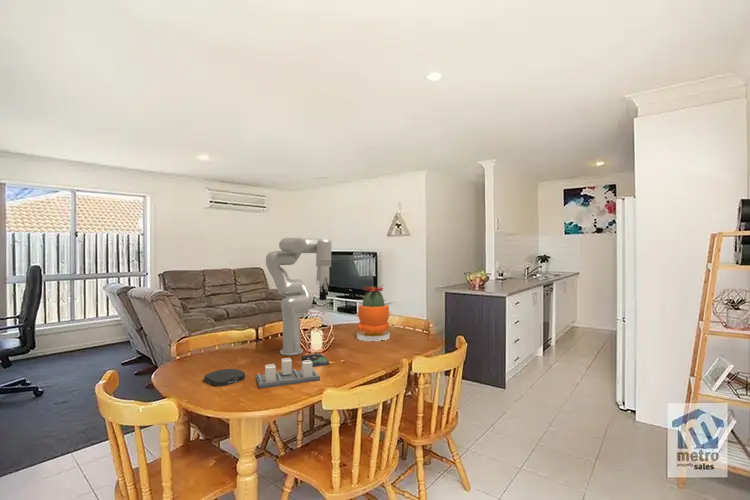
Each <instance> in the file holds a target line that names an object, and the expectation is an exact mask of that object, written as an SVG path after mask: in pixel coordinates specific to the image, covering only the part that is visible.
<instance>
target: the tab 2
mask: <svg viewBox="0 0 750 500" xmlns="http://www.w3.org/2000/svg"><path fill="white" fill-rule="evenodd" d="M292 367H293V360H292V359H291V357H285V358H281V367H280V368H281V370H280V371H281V372H280V373H282V375H288V374H292V371H293V368H292Z"/></svg>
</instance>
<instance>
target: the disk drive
mask: <svg viewBox="0 0 750 500" xmlns="http://www.w3.org/2000/svg"><path fill="white" fill-rule="evenodd" d="M304 360H311V362H312V363H313V368H316V367H324V366H325V367H326V366H329V365H330V361H329V359H328V358H326V357H325V356H324V355H323V354H322V353H313V354H309V355H307V354H305V355H301V362H302V361H304Z"/></svg>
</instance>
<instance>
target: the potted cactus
mask: <svg viewBox="0 0 750 500" xmlns="http://www.w3.org/2000/svg"><path fill="white" fill-rule="evenodd" d="M383 286H384V284H382V285H380V286H378V287H375V286H374V285H373V286H372V285H371V286H369V287H368V286H367V285H364V288H362V289H361V290H363V291H366V292H365V294H364V296H363V297H362V301H361V304H359V305H358V309H357V312H356V316H357V318H358V319H359V320H358V321H359V322H358V323H357V330H358V332H356V339H357V340H358V339H359V340H358V341H361V340H363V341H362V342H371V341H374V342H382V341H381V340H385V341H388V340H390V339H389V338H391V337H390V336H391V335H390V332H389V331H388V330H389V329H390V323H389V322H388V321H389V317H390V316H391V315H392V312H391V310H390V308H389V307H390V306H389V305H388V304H386V303H385V302H386V301H385V298H384V296H383V294H382V291H384V287H383ZM387 339H388V340H387Z"/></svg>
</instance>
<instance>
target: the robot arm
mask: <svg viewBox="0 0 750 500" xmlns="http://www.w3.org/2000/svg"><path fill="white" fill-rule="evenodd" d="M278 247H279V249H280V250H273V251H269V253H267V254H266V256H265V265H266V269H267V271H268V273H269V274H270V276H271V277H272V280H273V281H274V282H273V283H274V285H275V287H276V289H277V292H278V294H279V295H280V296H281V297H284V298H283V299H282V300H281V302H280V308H281V313H282V314H281V315H282V349H280V351H279V354H280V355H283V356H297V355H301V354H302V353H303V352H304V350H303V348H301V319H300V317H299V316H298V314H297V313H303V312H307V311H310V310H311V308H312V305H313V304H312V299H311V296H310V294H309V291H308V288H307V287H306V284H305V282H303V281H302V280H301V279H292V278H290V277H289V274H288V272H287V271H286V269H284V268H283V267H282V266H292V265H294V264H296V262H297V261H298V259H299V258H300V256H301V255H302V254H316V255H315V256H316V258H315V259H316V260H315V267H316V276H315V277H316V279H315V280H316V281H315V284H316V286H318V287H319V295H318V296H319V298H318V299H319V300H320V301H326V300H327V290H328V288H327V287H329V286H330V268H331V267H332V240H331V239H322V238H302V237H284V238H282V239H280V241H279V242H278Z"/></svg>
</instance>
